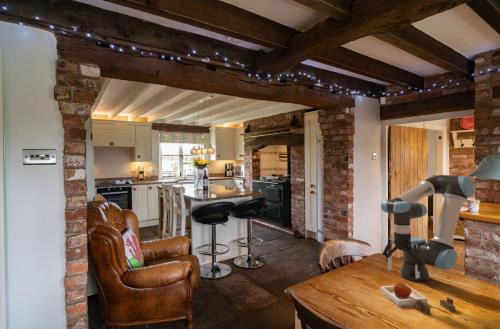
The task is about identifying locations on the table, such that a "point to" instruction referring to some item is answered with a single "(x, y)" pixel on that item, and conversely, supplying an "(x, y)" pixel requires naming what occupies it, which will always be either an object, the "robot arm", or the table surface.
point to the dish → (403, 302)
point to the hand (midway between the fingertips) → (403, 273)
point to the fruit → (402, 290)
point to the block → (443, 303)
